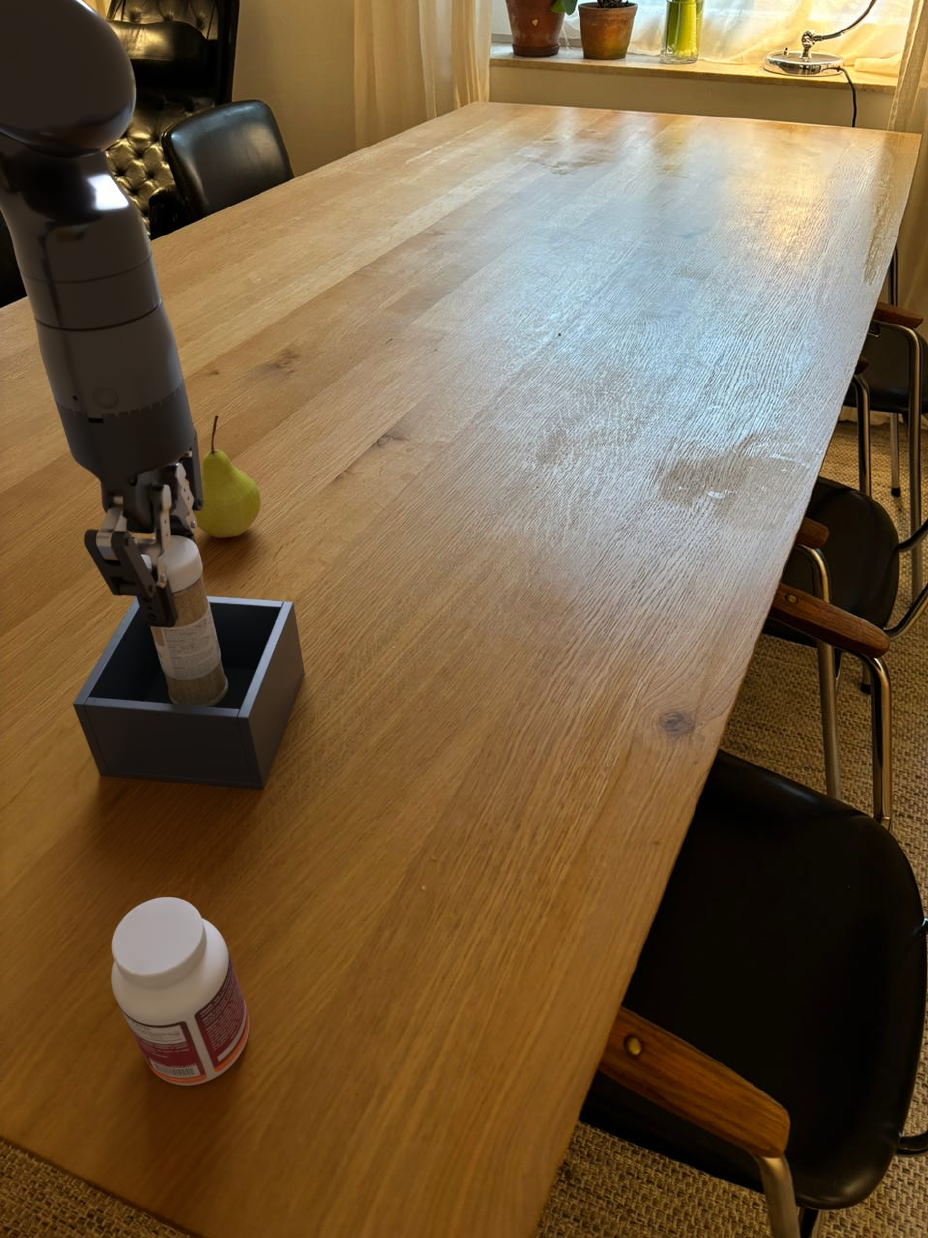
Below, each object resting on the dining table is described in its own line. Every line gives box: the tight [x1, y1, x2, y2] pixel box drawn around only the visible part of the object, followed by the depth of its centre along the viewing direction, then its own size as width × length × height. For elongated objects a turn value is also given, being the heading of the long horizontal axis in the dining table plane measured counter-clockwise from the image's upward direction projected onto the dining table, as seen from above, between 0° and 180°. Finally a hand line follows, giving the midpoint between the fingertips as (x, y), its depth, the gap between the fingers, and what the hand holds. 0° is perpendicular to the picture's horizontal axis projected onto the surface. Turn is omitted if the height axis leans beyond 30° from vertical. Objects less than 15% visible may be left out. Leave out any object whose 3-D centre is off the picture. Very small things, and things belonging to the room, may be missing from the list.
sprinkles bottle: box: [141, 535, 228, 707], centre depth 72 cm, size 5×5×13 cm
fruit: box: [188, 415, 262, 538], centre depth 94 cm, size 7×7×12 cm
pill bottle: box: [110, 896, 250, 1086], centre depth 55 cm, size 6×6×11 cm
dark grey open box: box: [72, 595, 305, 790], centre depth 76 cm, size 13×13×8 cm
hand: (174, 598), depth 70 cm, fingers closed on sprinkles bottle, 4 cm apart
